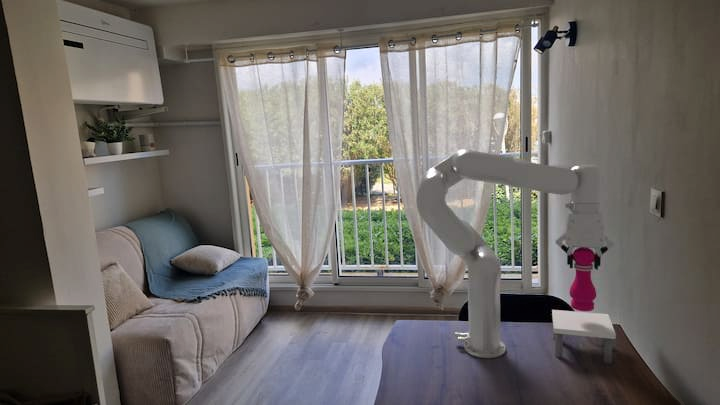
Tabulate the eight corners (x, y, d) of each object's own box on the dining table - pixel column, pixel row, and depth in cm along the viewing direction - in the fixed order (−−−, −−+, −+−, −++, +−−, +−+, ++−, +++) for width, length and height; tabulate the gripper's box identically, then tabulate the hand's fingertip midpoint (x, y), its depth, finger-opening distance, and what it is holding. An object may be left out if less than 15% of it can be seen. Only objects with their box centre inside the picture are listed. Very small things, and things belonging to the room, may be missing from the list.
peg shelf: (553, 358, 136) (554, 328, 135) (551, 337, 149) (552, 309, 148) (614, 365, 131) (615, 334, 129) (607, 342, 144) (608, 314, 142)
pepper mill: (599, 312, 133) (601, 246, 130) (572, 311, 135) (573, 246, 132) (591, 303, 140) (593, 239, 137) (566, 302, 142) (567, 239, 139)
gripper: (553, 209, 132) (552, 269, 135) (621, 210, 126) (618, 273, 129) (552, 205, 139) (551, 262, 142) (616, 205, 133) (614, 265, 136)
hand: (583, 267), depth 136 cm, fingers closed on pepper mill, 6 cm apart
